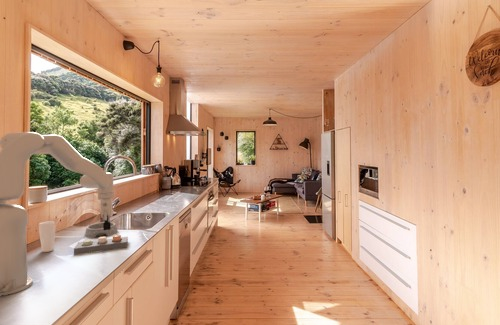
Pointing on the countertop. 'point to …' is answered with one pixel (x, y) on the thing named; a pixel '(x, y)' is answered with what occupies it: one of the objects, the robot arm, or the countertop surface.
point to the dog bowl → (99, 230)
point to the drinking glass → (47, 235)
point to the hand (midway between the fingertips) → (107, 229)
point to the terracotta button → (116, 238)
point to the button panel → (100, 246)
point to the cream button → (102, 240)
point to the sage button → (87, 242)
